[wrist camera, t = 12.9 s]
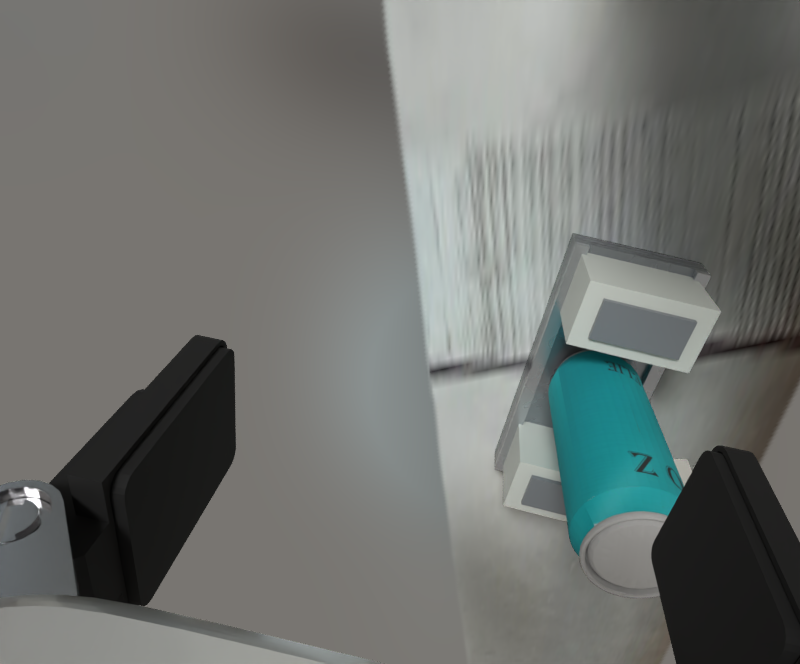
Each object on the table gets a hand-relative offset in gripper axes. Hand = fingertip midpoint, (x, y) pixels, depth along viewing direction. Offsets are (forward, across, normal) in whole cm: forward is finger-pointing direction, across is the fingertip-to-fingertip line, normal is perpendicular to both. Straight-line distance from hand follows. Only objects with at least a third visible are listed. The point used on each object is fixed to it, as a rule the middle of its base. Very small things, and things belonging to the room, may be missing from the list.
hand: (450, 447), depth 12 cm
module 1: (+25, -9, +20) cm, 33 cm away
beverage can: (+25, -10, +13) cm, 30 cm away
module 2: (+25, -10, +7) cm, 28 cm away
